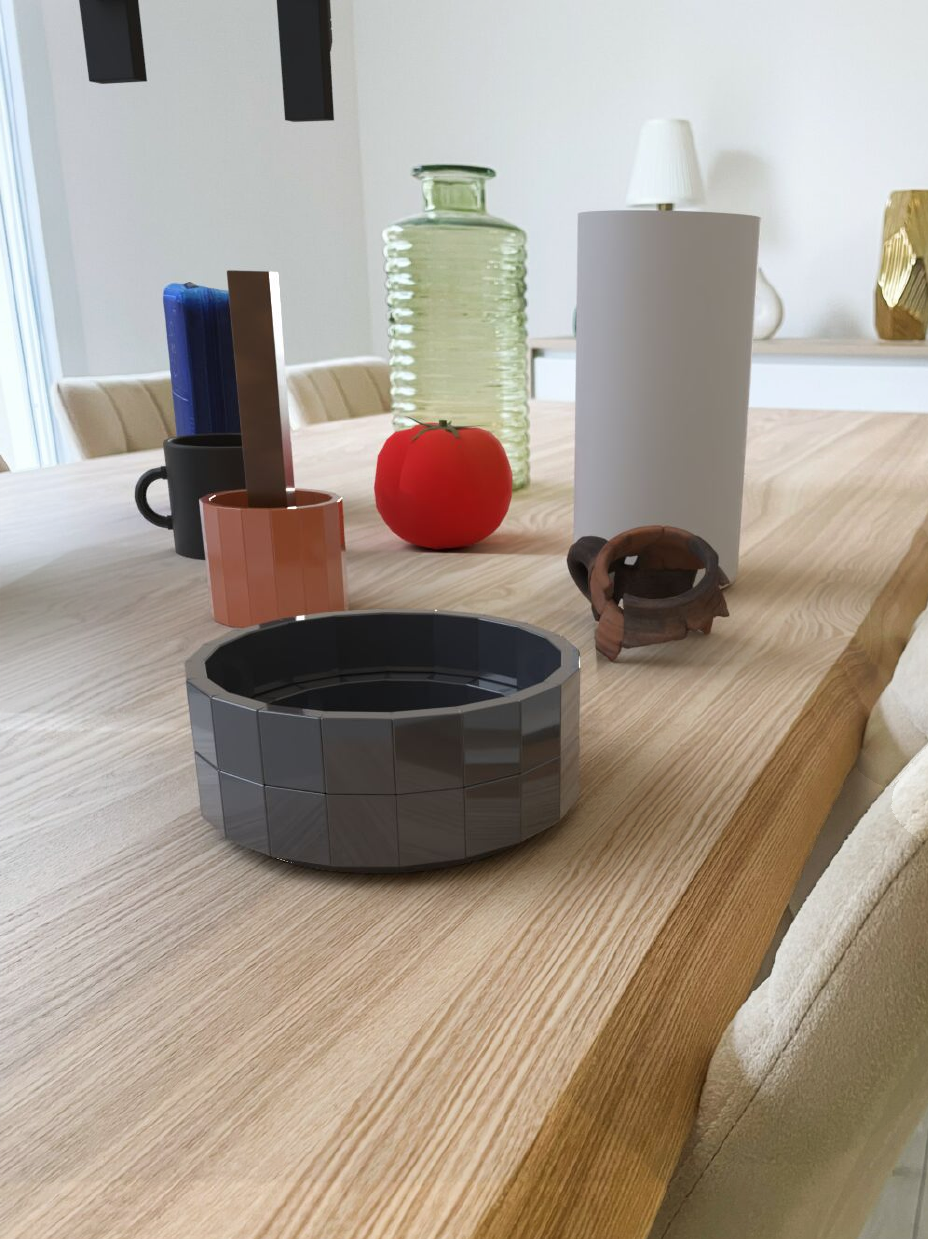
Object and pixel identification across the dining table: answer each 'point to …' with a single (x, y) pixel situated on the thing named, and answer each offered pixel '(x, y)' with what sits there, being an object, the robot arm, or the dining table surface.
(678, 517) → the cylinder vase
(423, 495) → the tomato
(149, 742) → the dining table surface
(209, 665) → the bowl
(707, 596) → the pottery mug
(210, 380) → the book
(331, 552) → the pot
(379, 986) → the dining table surface
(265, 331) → the stick
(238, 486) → the mug
